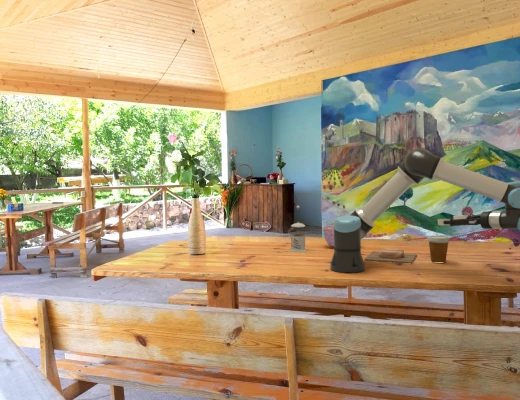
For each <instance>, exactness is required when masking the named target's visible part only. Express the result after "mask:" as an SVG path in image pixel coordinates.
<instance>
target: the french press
mask: <svg viewBox="0 0 520 400" xmlns="http://www.w3.org/2000/svg"><path fill="white" fill-rule="evenodd" d="M299 208H301V207H300V205H296V209H299ZM305 227H306V225H305V224H304V223H302V222H296V223H293V224H291V225H290V228H289V229H288V231H287V233H290V232H291V231H294V230H295V228H305ZM291 234H292V235H291ZM291 234H287V236H288V239H289V240H290V243H291V244H290V245H291V246H290V247H291V248H290V249H289V251H290V252H293V253H294V252H299V253H301V252H307V251H308V249H307V248H306V235H305V232H304V231H301V232H300V231H295V232H291Z"/></svg>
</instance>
